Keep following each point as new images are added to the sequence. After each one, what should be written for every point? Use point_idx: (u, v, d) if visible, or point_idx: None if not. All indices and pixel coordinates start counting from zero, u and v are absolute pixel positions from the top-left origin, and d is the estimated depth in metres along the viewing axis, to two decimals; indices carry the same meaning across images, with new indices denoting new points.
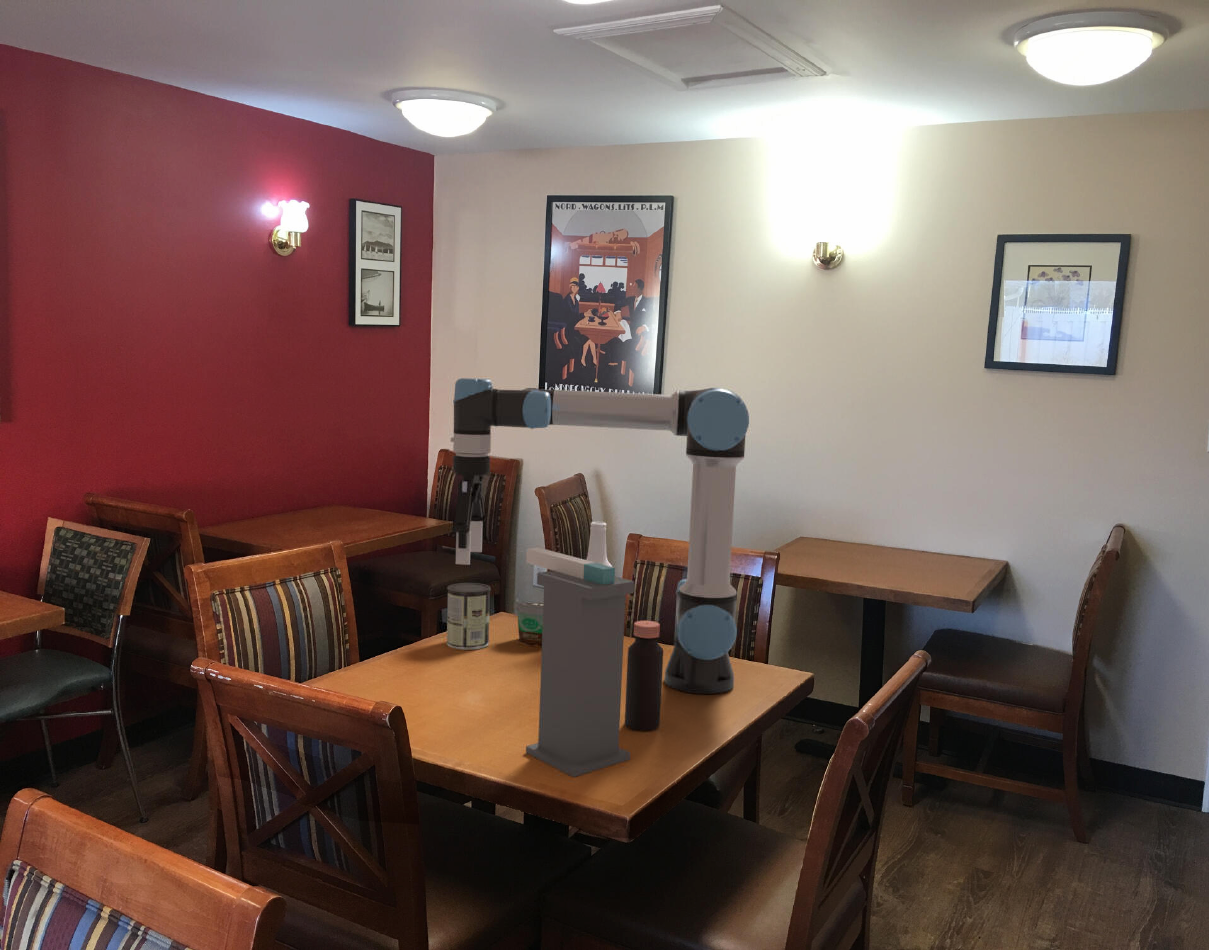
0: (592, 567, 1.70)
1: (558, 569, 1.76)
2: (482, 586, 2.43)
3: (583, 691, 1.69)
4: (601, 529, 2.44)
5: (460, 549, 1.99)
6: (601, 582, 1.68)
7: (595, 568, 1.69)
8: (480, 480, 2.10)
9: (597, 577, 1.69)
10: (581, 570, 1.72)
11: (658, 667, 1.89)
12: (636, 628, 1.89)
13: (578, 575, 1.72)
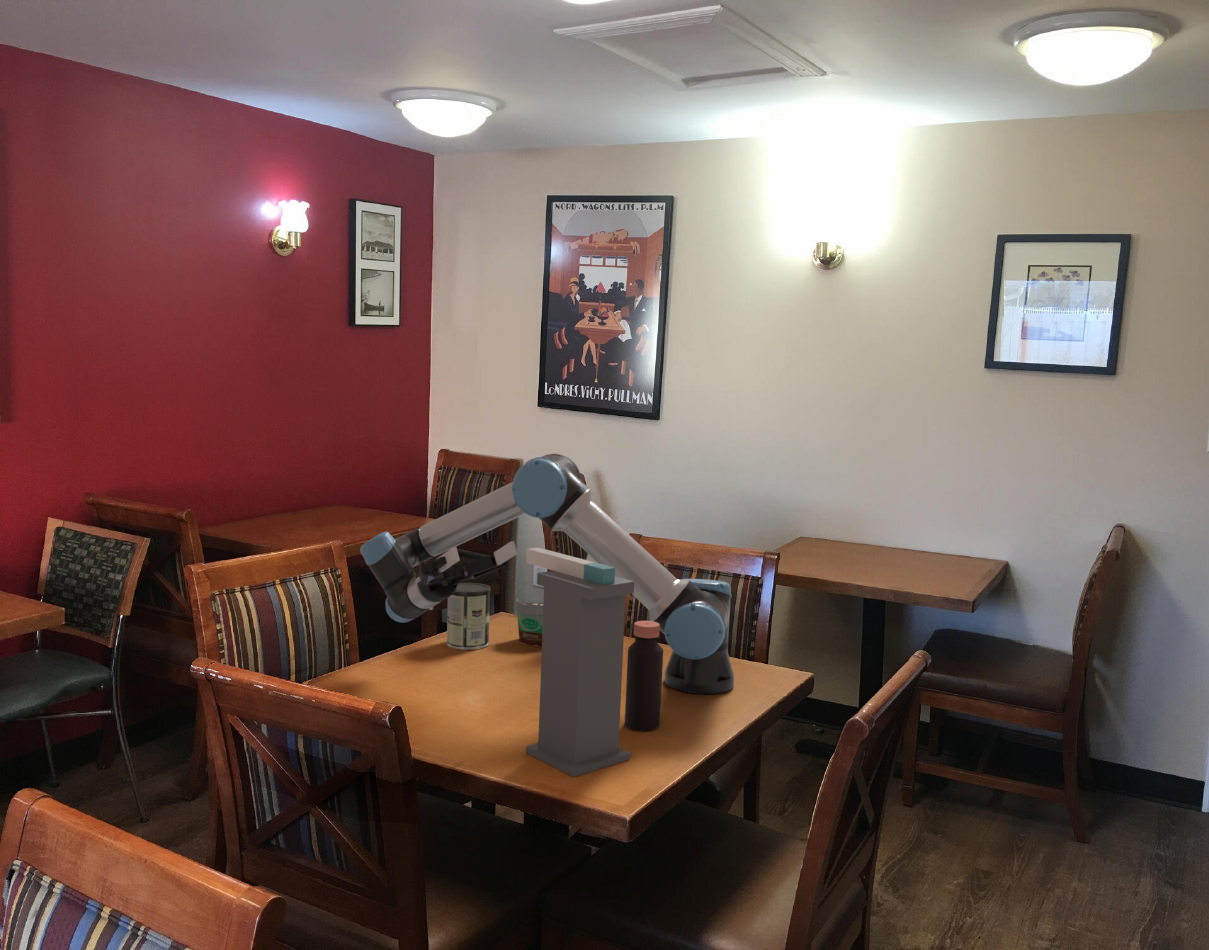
0: (592, 567, 1.70)
1: (558, 569, 1.76)
2: (482, 586, 2.43)
3: (583, 691, 1.69)
4: None
5: (447, 561, 1.92)
6: (601, 582, 1.68)
7: (595, 568, 1.69)
8: None
9: (597, 577, 1.69)
10: (581, 570, 1.72)
11: (658, 667, 1.89)
12: (636, 628, 1.89)
13: (578, 575, 1.72)
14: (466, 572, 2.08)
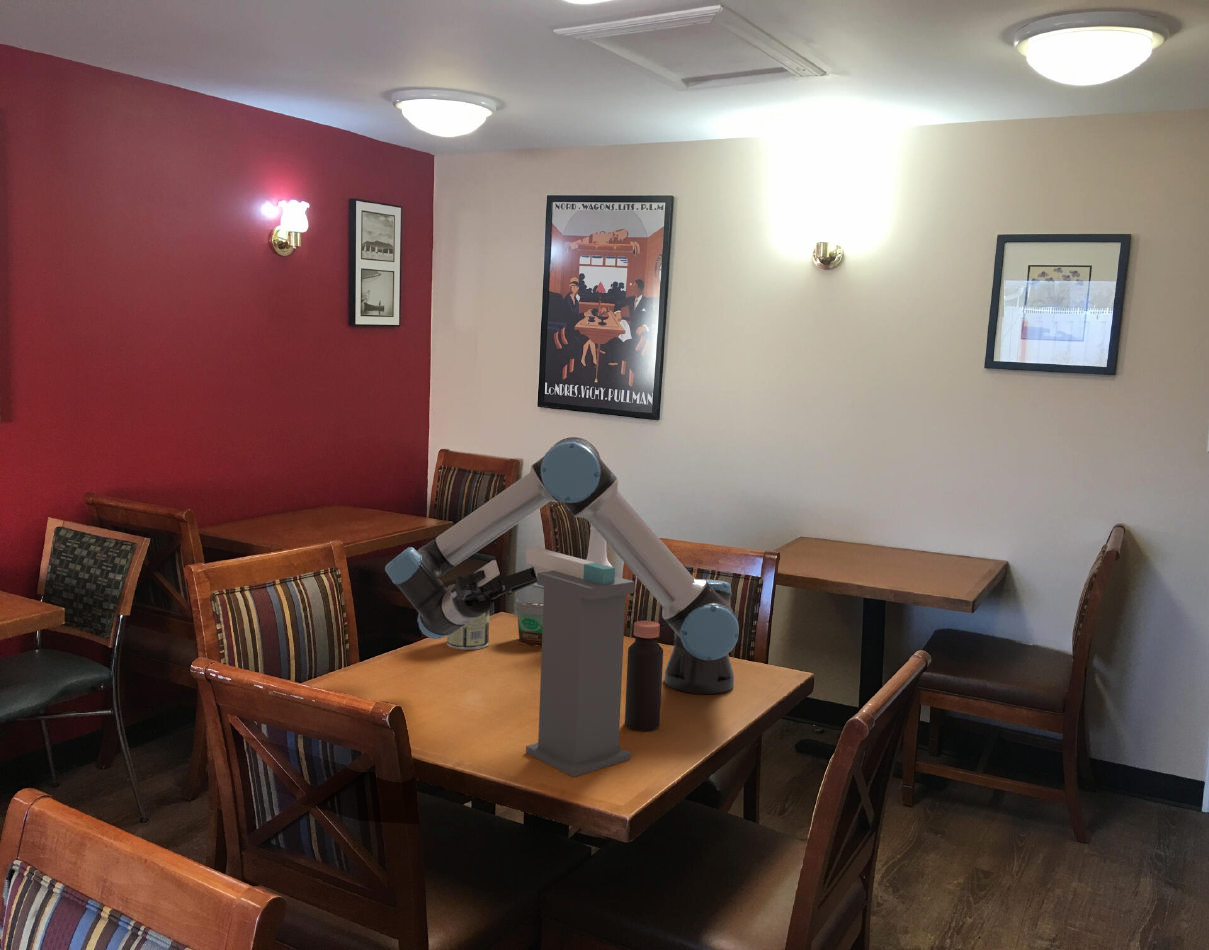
0: (592, 567, 1.70)
1: (558, 569, 1.76)
2: None
3: (583, 691, 1.69)
4: None
5: (486, 575, 1.82)
6: (601, 582, 1.68)
7: (595, 568, 1.69)
8: None
9: (597, 577, 1.69)
10: (581, 570, 1.72)
11: (658, 667, 1.89)
12: (636, 628, 1.89)
13: (578, 575, 1.72)
14: (503, 586, 1.98)
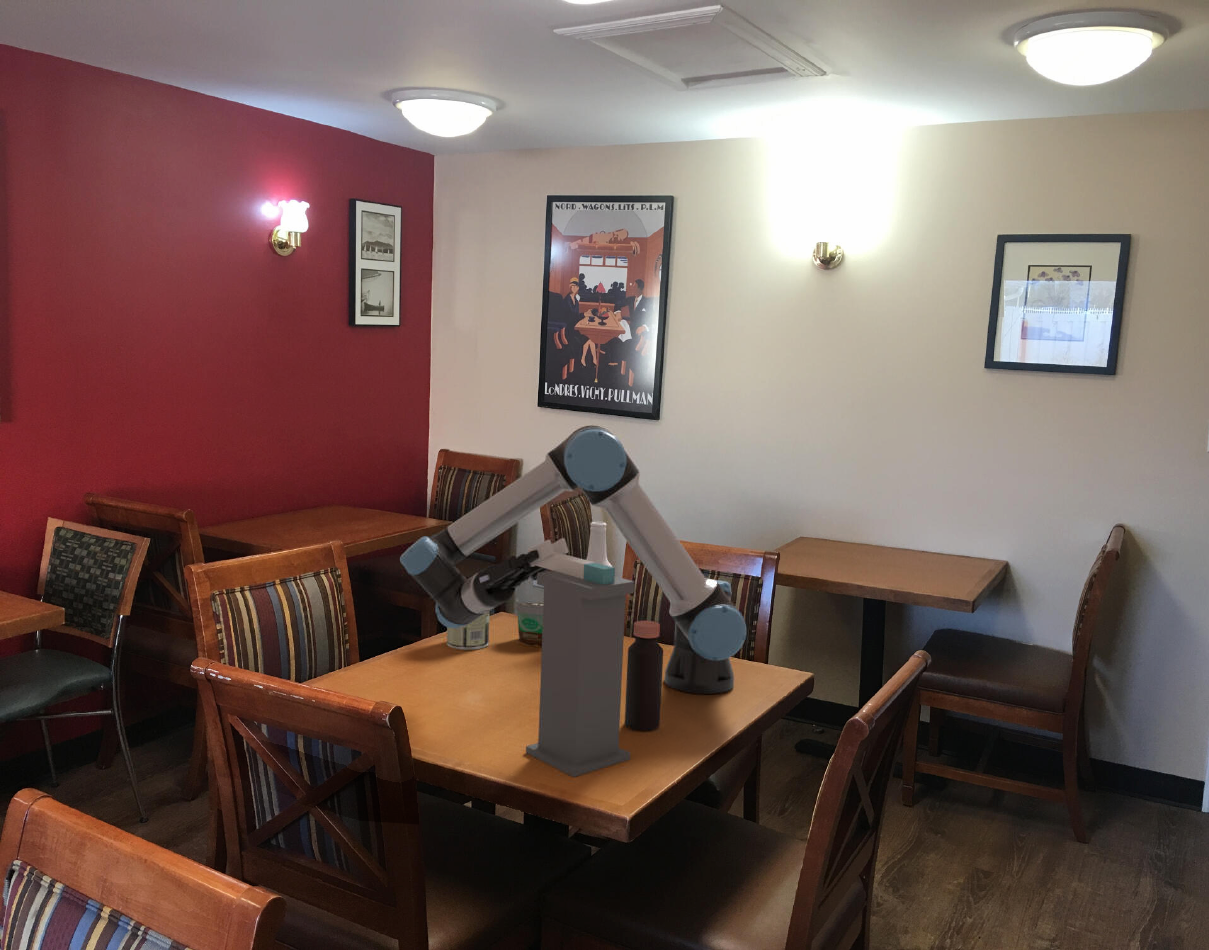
0: (592, 567, 1.70)
1: (558, 569, 1.76)
2: None
3: (583, 691, 1.69)
4: (601, 529, 2.44)
5: (540, 555, 1.79)
6: (601, 582, 1.68)
7: (595, 568, 1.69)
8: None
9: (597, 577, 1.69)
10: (581, 570, 1.72)
11: (658, 667, 1.89)
12: (636, 628, 1.89)
13: (578, 575, 1.72)
14: None
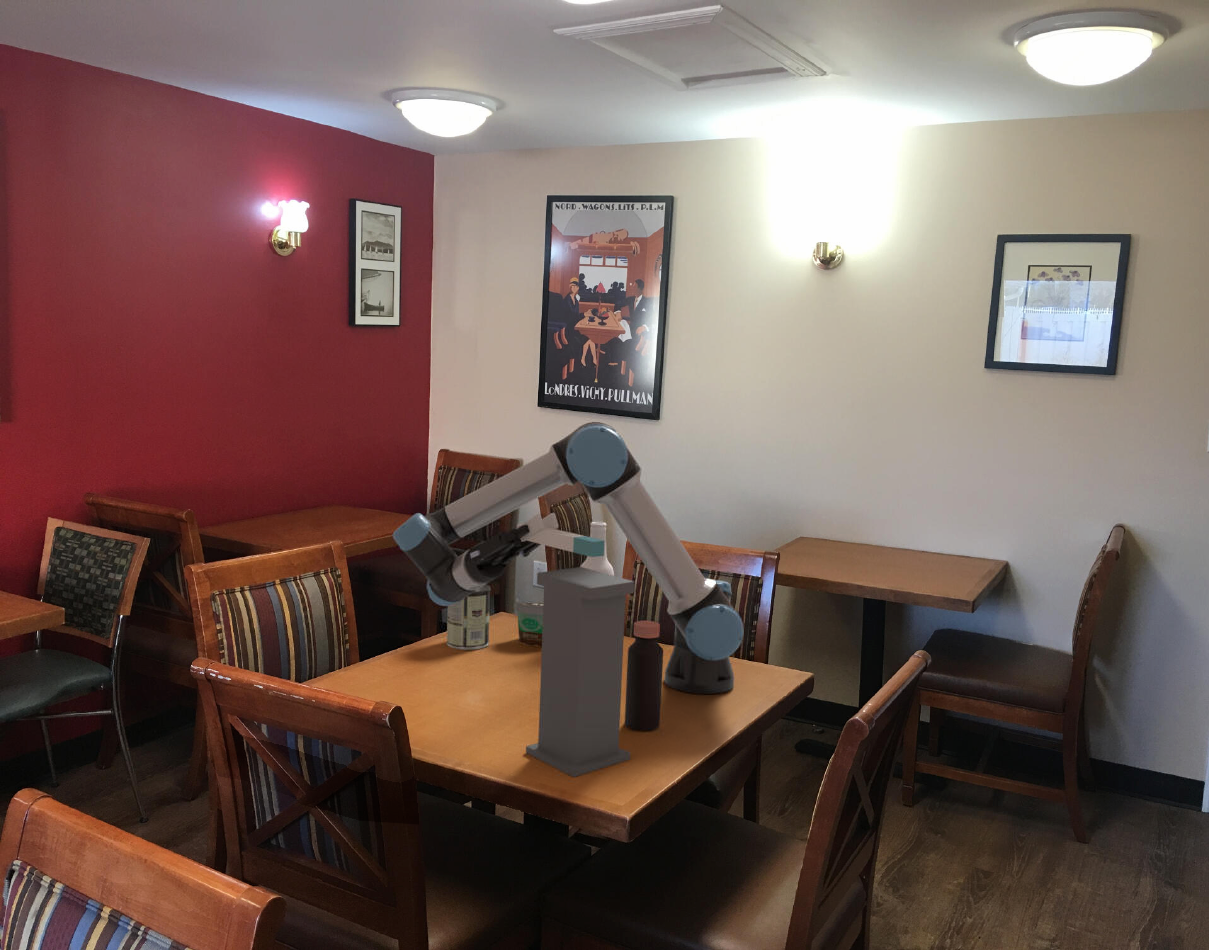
0: (582, 540, 1.71)
1: (548, 543, 1.78)
2: (482, 586, 2.43)
3: (583, 691, 1.69)
4: (601, 529, 2.44)
5: (530, 529, 1.80)
6: (590, 555, 1.69)
7: (585, 541, 1.70)
8: None
9: (587, 549, 1.70)
10: (571, 543, 1.73)
11: (658, 667, 1.89)
12: (636, 628, 1.89)
13: (568, 548, 1.74)
14: None
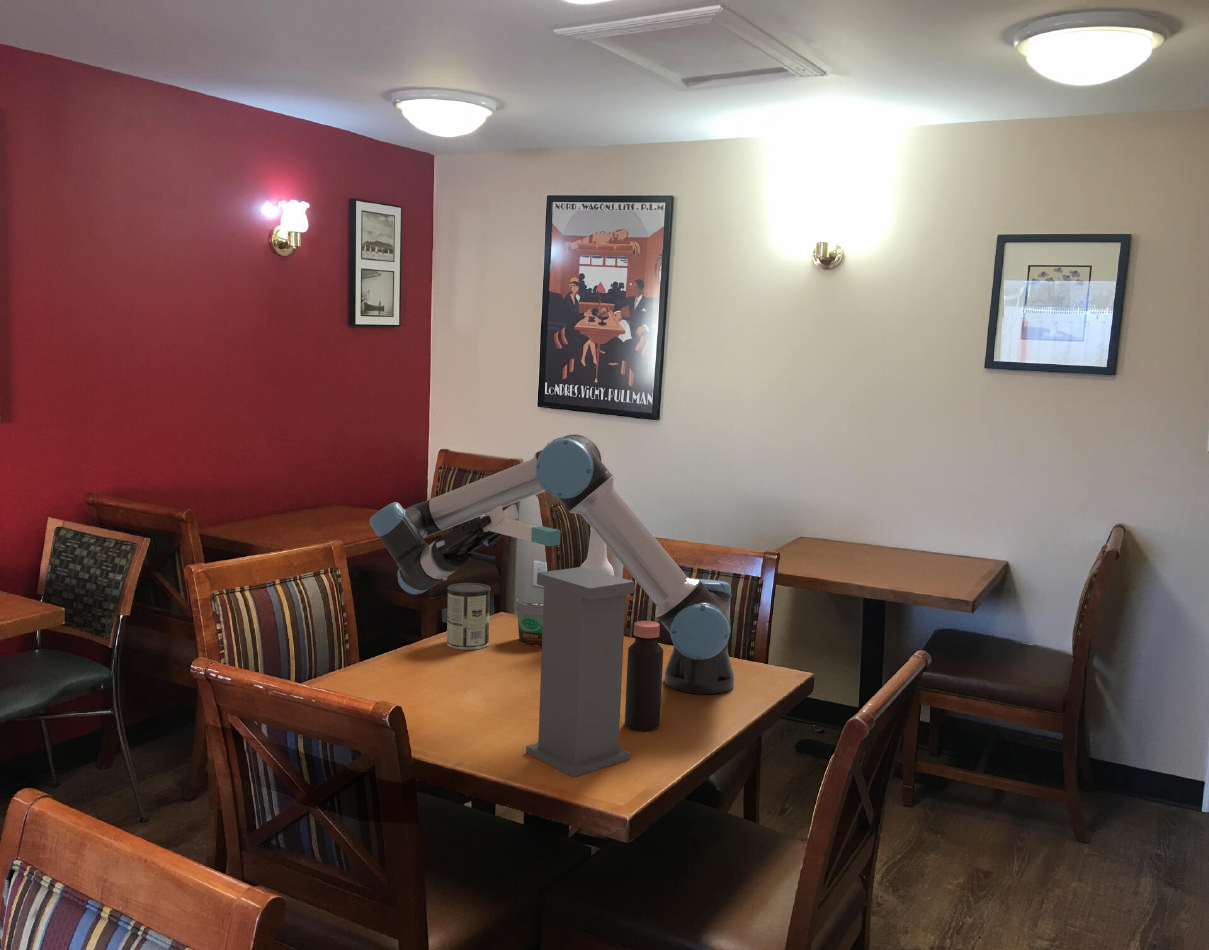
0: (539, 530, 1.80)
1: (508, 533, 1.87)
2: (482, 586, 2.43)
3: (583, 691, 1.69)
4: None
5: (492, 520, 1.89)
6: (547, 544, 1.78)
7: (541, 531, 1.79)
8: None
9: (544, 539, 1.79)
10: (529, 533, 1.82)
11: (658, 667, 1.89)
12: (636, 628, 1.89)
13: (526, 538, 1.83)
14: None
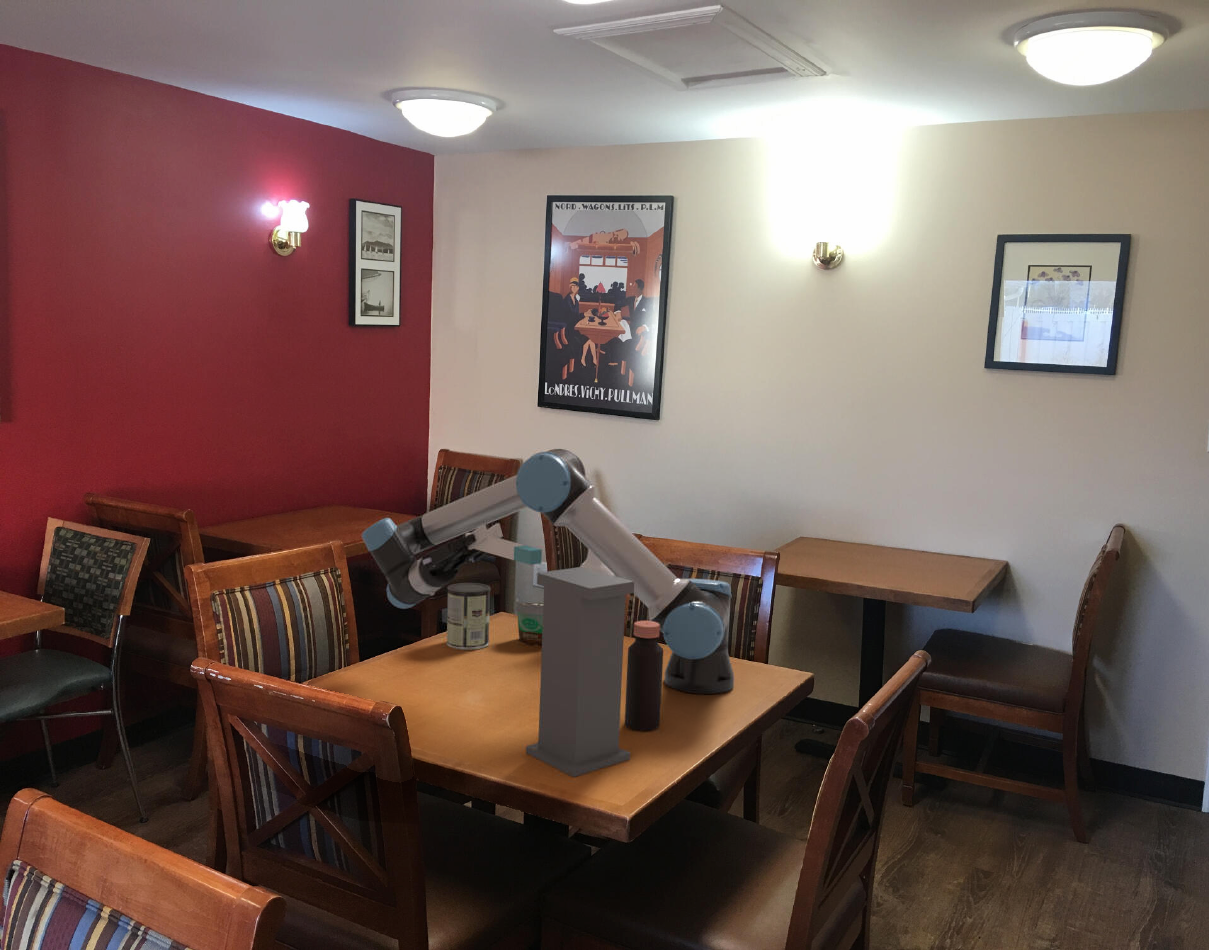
0: (521, 549, 1.85)
1: (492, 551, 1.92)
2: (482, 586, 2.43)
3: (583, 691, 1.69)
4: None
5: (476, 539, 1.95)
6: (528, 562, 1.84)
7: (523, 550, 1.85)
8: None
9: (525, 558, 1.84)
10: (512, 551, 1.87)
11: (658, 667, 1.89)
12: (636, 628, 1.89)
13: (509, 556, 1.88)
14: None
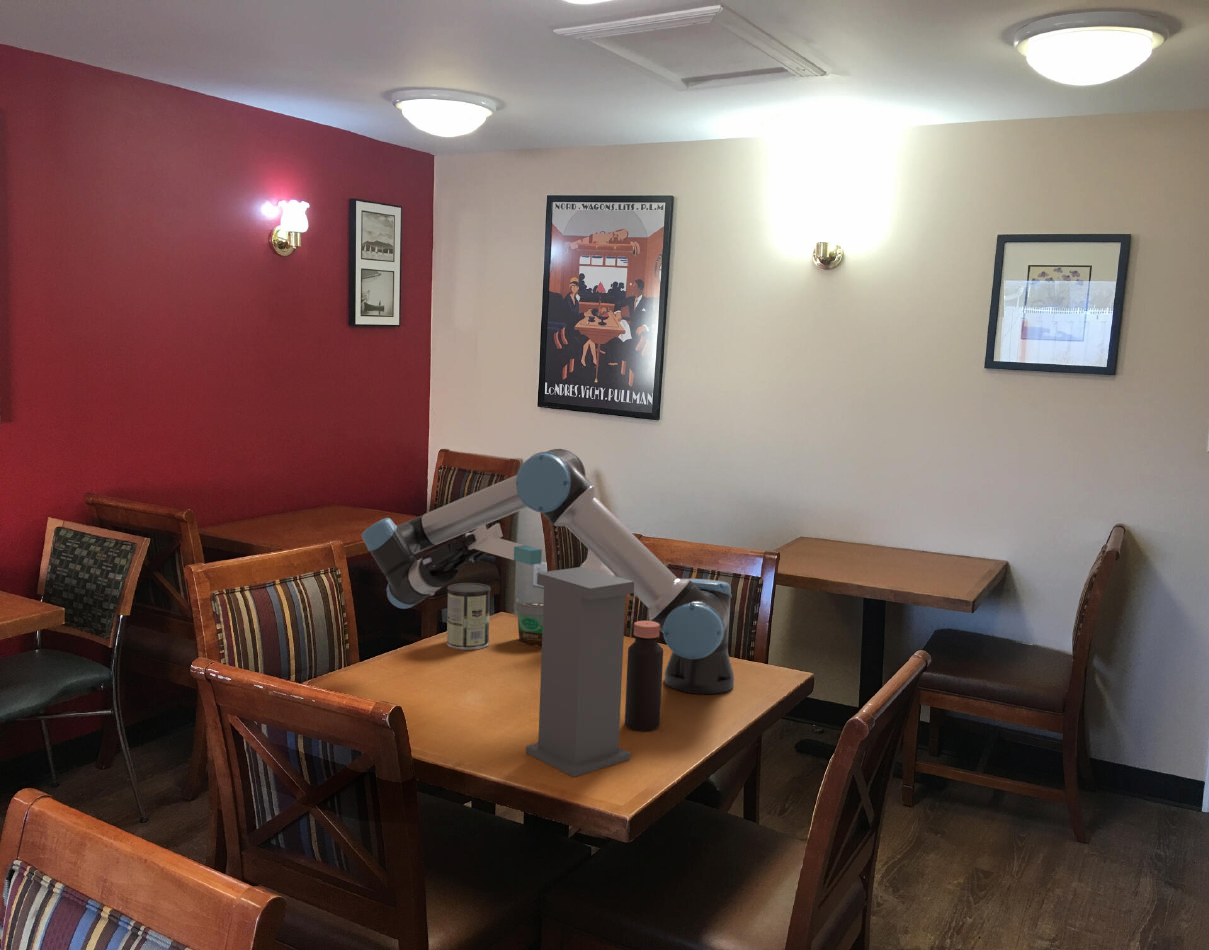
0: (521, 549, 1.85)
1: (492, 551, 1.92)
2: (482, 586, 2.43)
3: (583, 691, 1.69)
4: None
5: (476, 539, 1.95)
6: (528, 562, 1.84)
7: (523, 550, 1.85)
8: None
9: (525, 558, 1.84)
10: (512, 551, 1.87)
11: (658, 667, 1.89)
12: (636, 628, 1.89)
13: (509, 556, 1.88)
14: None
